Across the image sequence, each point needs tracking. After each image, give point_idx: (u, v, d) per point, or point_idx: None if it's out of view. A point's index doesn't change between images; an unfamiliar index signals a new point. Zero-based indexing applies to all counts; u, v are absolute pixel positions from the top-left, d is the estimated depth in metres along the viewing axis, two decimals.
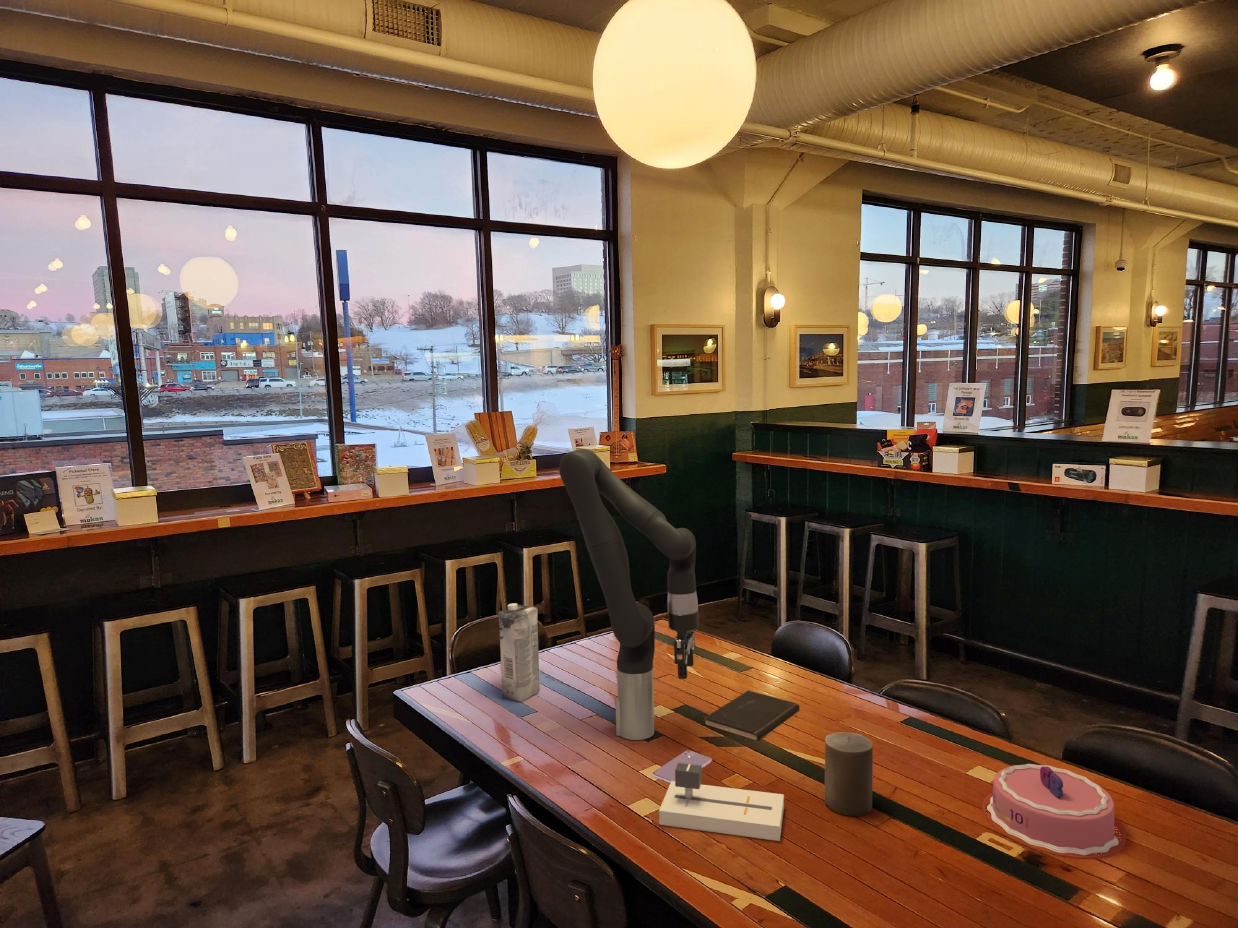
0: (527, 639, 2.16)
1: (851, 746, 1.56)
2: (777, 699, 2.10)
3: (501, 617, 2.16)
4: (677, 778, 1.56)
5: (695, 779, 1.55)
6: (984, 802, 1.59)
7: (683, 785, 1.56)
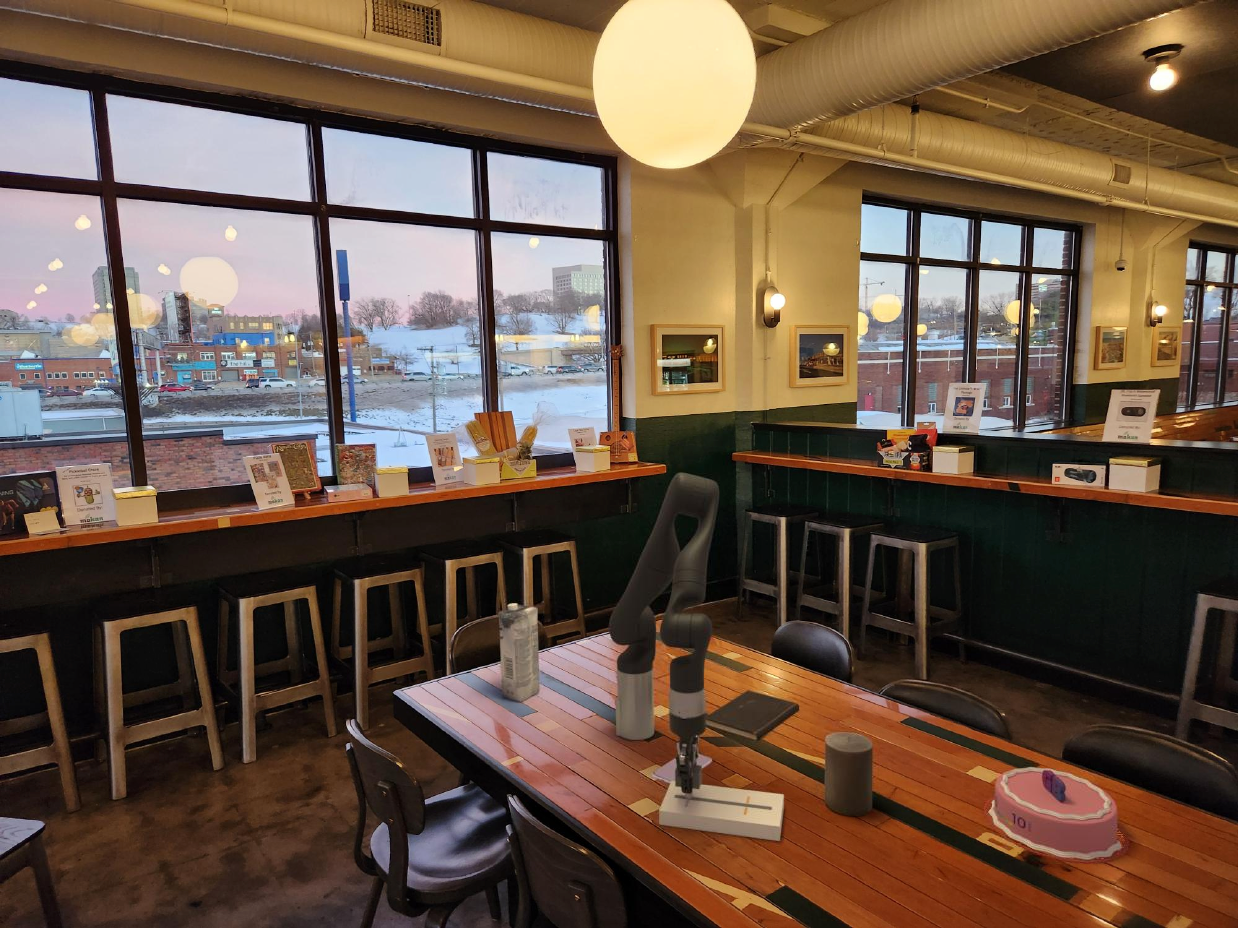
0: (527, 639, 2.16)
1: (851, 746, 1.56)
2: (777, 699, 2.10)
3: (501, 617, 2.16)
4: (677, 778, 1.56)
5: (695, 779, 1.55)
6: (985, 806, 1.57)
7: None
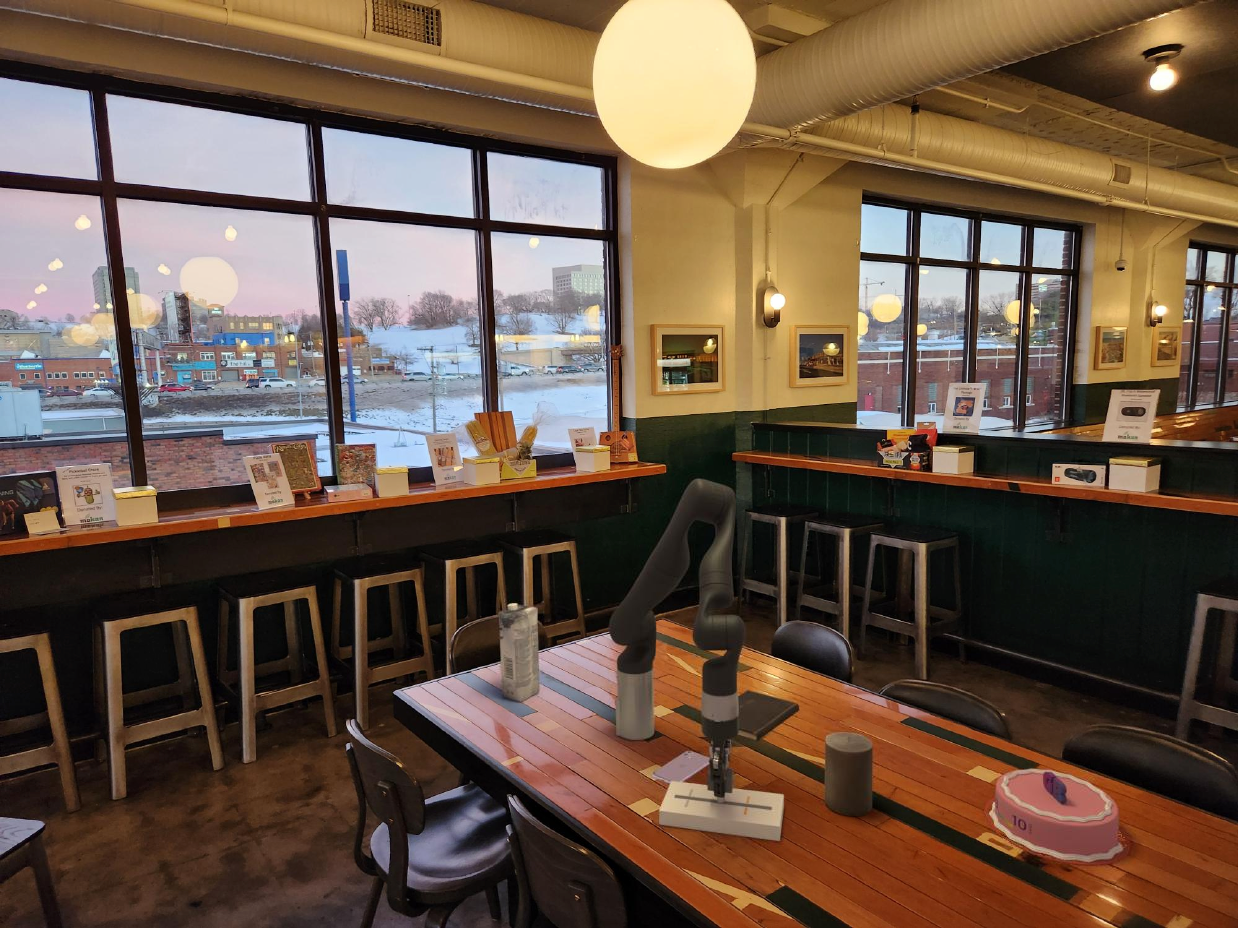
0: (527, 639, 2.16)
1: (851, 746, 1.56)
2: (777, 699, 2.10)
3: (501, 617, 2.16)
4: (709, 782, 1.54)
5: (728, 783, 1.53)
6: (986, 807, 1.57)
7: None
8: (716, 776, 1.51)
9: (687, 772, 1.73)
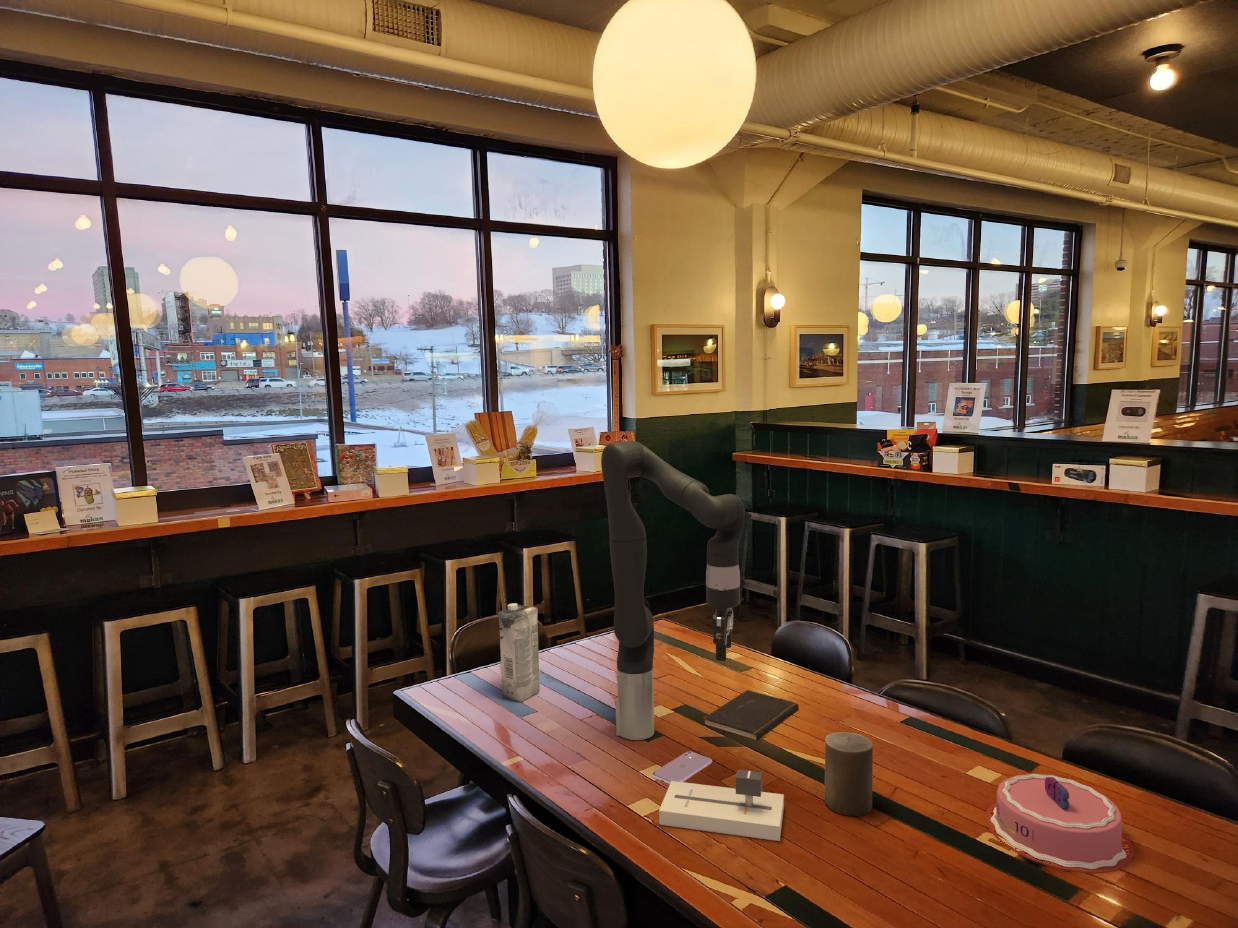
0: (527, 639, 2.16)
1: (851, 746, 1.56)
2: (776, 698, 2.10)
3: (501, 617, 2.16)
4: (738, 785, 1.53)
5: (757, 786, 1.52)
6: (987, 813, 1.54)
7: (744, 792, 1.53)
8: (718, 639, 1.64)
9: (687, 772, 1.73)
